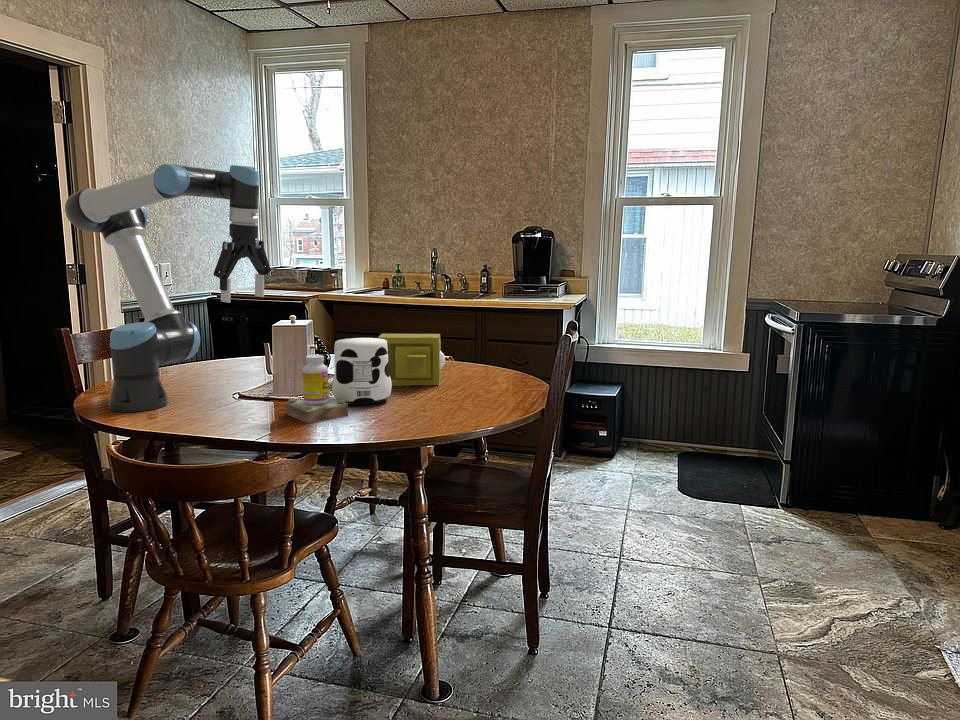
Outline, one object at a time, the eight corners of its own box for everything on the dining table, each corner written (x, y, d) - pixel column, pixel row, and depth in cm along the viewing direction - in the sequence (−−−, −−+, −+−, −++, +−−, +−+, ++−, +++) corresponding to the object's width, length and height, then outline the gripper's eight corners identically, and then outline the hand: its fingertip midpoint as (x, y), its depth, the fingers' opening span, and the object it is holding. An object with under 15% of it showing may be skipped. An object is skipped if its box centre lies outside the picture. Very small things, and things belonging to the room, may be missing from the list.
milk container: (365, 392, 214) (363, 335, 211) (404, 400, 203) (403, 341, 200) (320, 402, 201) (318, 341, 197) (359, 411, 190) (357, 347, 187)
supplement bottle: (325, 405, 182) (323, 358, 179) (301, 405, 182) (298, 358, 179) (331, 399, 188) (329, 354, 186) (307, 399, 188) (305, 353, 186)
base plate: (307, 423, 177) (307, 407, 177) (287, 414, 186) (286, 399, 185) (347, 415, 185) (347, 401, 184) (326, 407, 194) (325, 393, 193)
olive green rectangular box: (445, 333, 230) (443, 340, 214) (445, 380, 233) (443, 390, 217) (342, 333, 230) (332, 340, 214) (343, 379, 233) (334, 390, 217)
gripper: (221, 226, 175) (221, 306, 181) (284, 224, 198) (282, 296, 203) (199, 222, 178) (199, 302, 183) (263, 221, 201) (262, 292, 206)
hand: (243, 299), depth 193 cm, fingers open, 13 cm apart
